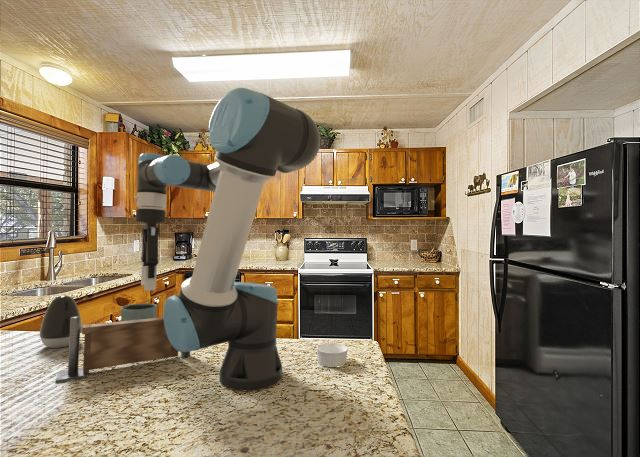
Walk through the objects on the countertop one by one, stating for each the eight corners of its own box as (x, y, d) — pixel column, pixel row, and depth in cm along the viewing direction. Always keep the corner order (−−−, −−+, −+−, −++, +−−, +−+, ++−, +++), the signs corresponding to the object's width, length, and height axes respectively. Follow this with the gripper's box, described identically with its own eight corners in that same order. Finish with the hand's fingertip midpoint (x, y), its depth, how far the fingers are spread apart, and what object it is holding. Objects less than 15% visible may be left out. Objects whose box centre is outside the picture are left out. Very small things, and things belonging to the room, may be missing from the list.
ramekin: (310, 360, 93) (311, 345, 93) (336, 355, 98) (337, 340, 98) (326, 371, 86) (326, 355, 86) (353, 366, 90) (354, 350, 90)
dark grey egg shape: (74, 338, 107) (76, 291, 107) (86, 344, 101) (89, 295, 101) (34, 345, 99) (36, 295, 99) (44, 353, 93) (47, 299, 93)
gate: (80, 372, 79) (82, 327, 79) (81, 368, 81) (83, 325, 81) (178, 356, 91) (179, 317, 91) (176, 353, 93) (177, 315, 93)
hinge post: (87, 377, 78) (90, 318, 79) (55, 383, 75) (58, 321, 75) (88, 368, 83) (91, 313, 84) (58, 373, 80) (61, 316, 80)
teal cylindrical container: (136, 351, 96) (138, 310, 96) (110, 347, 99) (112, 307, 99) (163, 341, 106) (164, 304, 106) (138, 338, 109) (140, 301, 109)
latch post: (191, 357, 93) (192, 311, 93) (182, 358, 92) (183, 312, 92) (189, 354, 95) (191, 309, 95) (180, 356, 94) (182, 310, 94)
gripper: (133, 210, 100) (130, 282, 100) (139, 205, 82) (135, 294, 81) (160, 211, 105) (157, 281, 104) (172, 207, 86) (168, 292, 85)
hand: (148, 287), depth 93 cm, fingers open, 10 cm apart
